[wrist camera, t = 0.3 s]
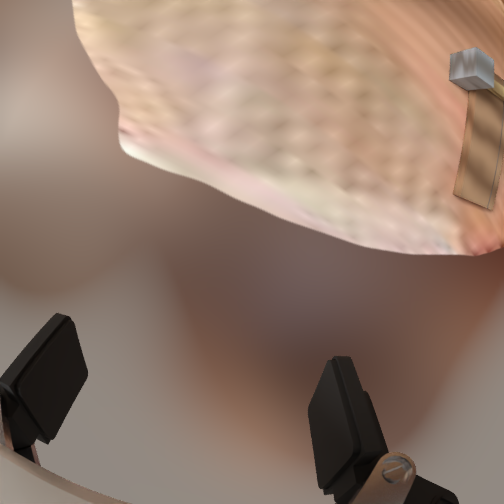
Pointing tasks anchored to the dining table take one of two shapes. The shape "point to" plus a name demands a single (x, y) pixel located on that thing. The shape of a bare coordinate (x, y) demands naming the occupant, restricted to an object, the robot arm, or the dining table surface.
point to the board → (482, 148)
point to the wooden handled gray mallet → (474, 71)
